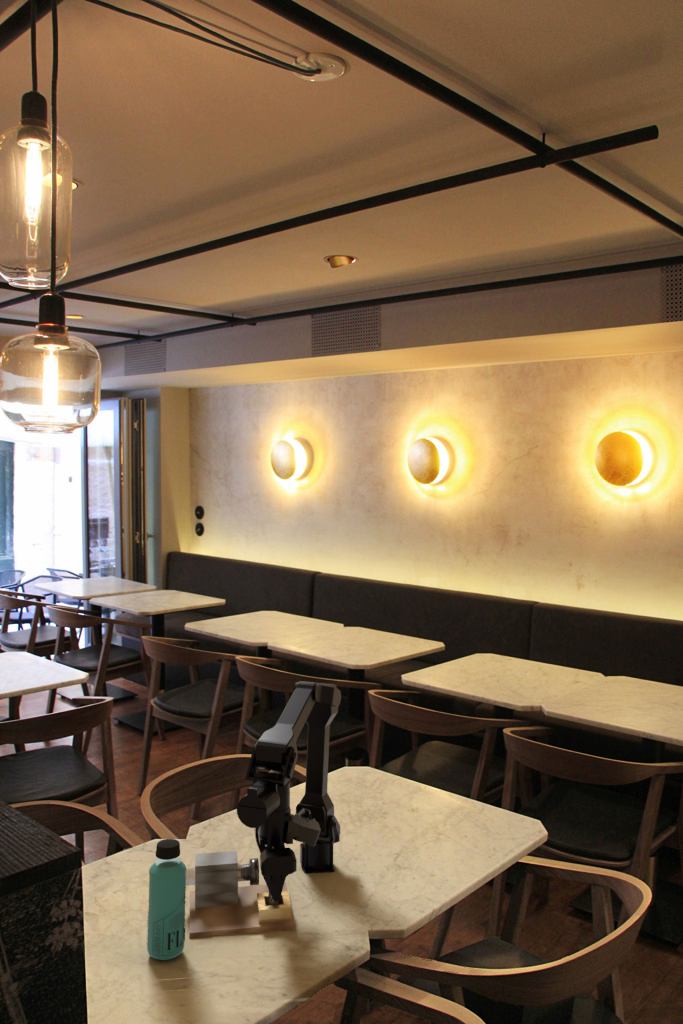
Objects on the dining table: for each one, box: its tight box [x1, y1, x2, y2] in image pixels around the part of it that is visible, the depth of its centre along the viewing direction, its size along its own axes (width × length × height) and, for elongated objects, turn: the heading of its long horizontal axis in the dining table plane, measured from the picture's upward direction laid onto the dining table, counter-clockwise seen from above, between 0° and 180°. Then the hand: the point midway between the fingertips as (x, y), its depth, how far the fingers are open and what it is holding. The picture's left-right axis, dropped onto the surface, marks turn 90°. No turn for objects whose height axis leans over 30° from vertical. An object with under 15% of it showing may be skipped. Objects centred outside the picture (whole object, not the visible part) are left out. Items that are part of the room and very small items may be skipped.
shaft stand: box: [188, 850, 296, 938], centre depth 151 cm, size 19×15×9 cm
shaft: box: [185, 857, 260, 887], centre depth 153 cm, size 15×5×5 cm, turn 100°
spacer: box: [257, 890, 293, 924], centre depth 148 cm, size 6×6×2 cm
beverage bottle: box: [145, 838, 187, 961], centre depth 136 cm, size 6×7×20 cm
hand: (274, 888), depth 148 cm, fingers open, 9 cm apart
